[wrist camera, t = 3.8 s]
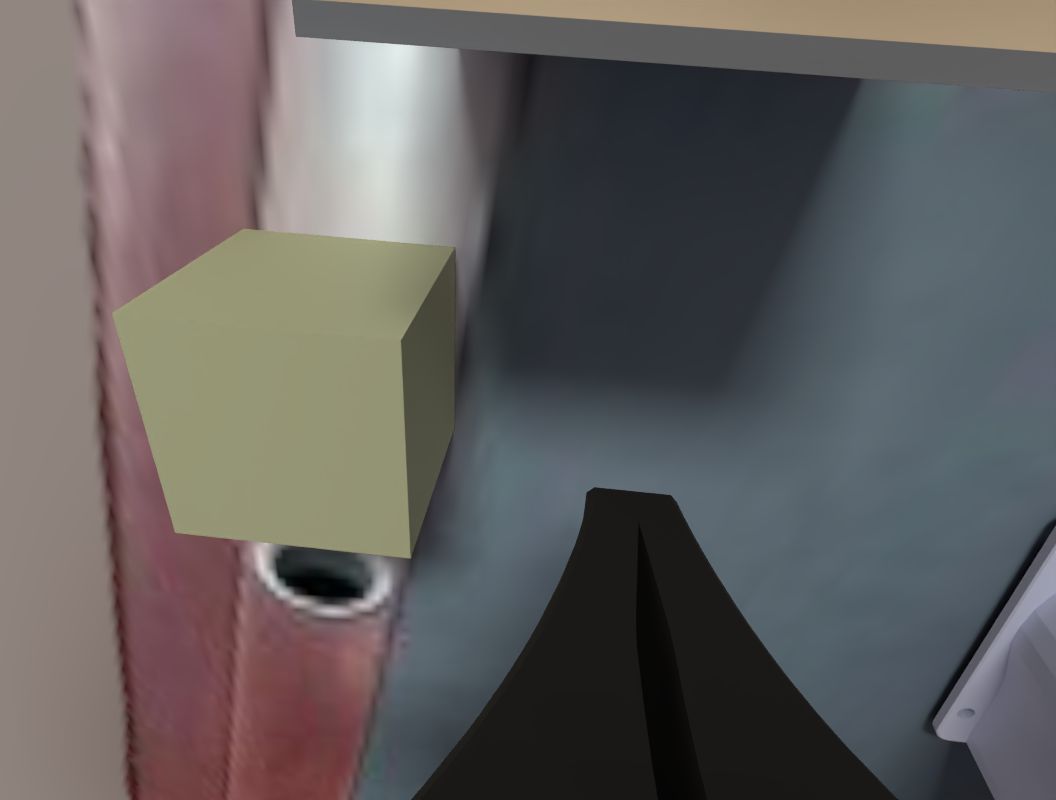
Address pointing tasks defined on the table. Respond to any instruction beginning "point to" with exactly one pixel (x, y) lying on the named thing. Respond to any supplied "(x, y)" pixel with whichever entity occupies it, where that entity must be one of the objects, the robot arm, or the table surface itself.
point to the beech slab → (730, 34)
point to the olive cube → (299, 388)
